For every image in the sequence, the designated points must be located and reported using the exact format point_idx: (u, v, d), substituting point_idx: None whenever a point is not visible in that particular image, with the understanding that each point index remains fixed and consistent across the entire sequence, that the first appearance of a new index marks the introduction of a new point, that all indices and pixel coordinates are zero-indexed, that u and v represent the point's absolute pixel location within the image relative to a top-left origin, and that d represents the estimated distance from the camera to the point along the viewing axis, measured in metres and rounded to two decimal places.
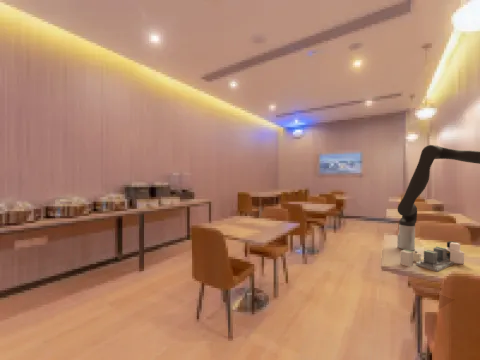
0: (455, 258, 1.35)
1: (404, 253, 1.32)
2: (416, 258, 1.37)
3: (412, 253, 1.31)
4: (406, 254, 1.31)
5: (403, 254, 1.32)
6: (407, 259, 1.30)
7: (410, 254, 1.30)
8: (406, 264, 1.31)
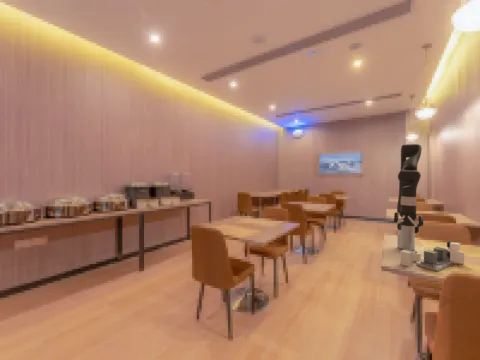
0: (455, 258, 1.35)
1: (404, 253, 1.32)
2: (415, 258, 1.37)
3: (412, 253, 1.31)
4: (406, 254, 1.31)
5: (403, 254, 1.32)
6: (407, 259, 1.30)
7: (410, 254, 1.30)
8: (406, 264, 1.31)
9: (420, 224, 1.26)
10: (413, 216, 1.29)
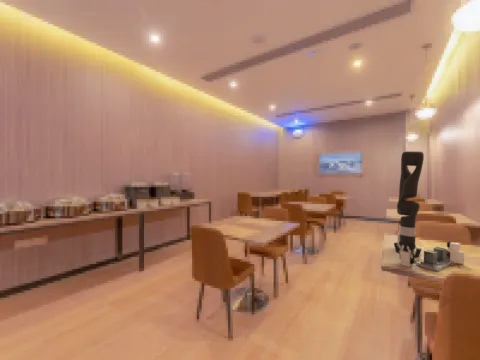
0: (455, 258, 1.35)
1: (404, 253, 1.32)
2: (416, 258, 1.37)
3: None
4: (406, 254, 1.31)
5: (403, 254, 1.32)
6: (407, 259, 1.30)
7: None
8: (406, 264, 1.31)
9: (415, 256, 1.28)
10: (412, 248, 1.29)
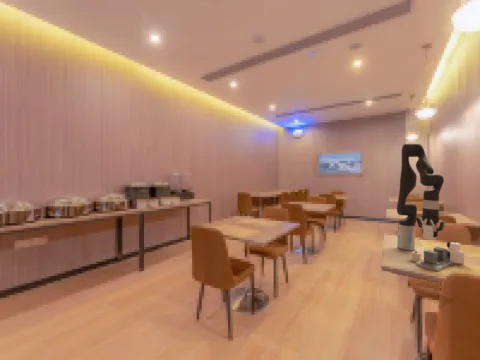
0: (455, 258, 1.35)
1: (427, 227, 1.32)
2: (416, 258, 1.37)
3: None
4: (429, 227, 1.31)
5: (426, 228, 1.32)
6: (430, 232, 1.30)
7: (433, 227, 1.30)
8: (429, 237, 1.31)
9: (439, 229, 1.28)
10: (436, 221, 1.29)
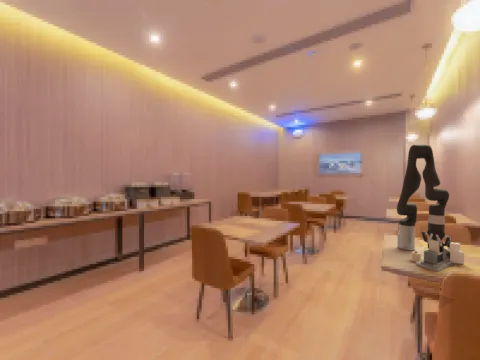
0: (455, 258, 1.35)
1: (433, 241, 1.32)
2: (416, 258, 1.37)
3: None
4: (435, 242, 1.31)
5: (432, 242, 1.32)
6: (436, 247, 1.30)
7: (439, 242, 1.30)
8: None
9: (445, 244, 1.28)
10: (442, 236, 1.29)
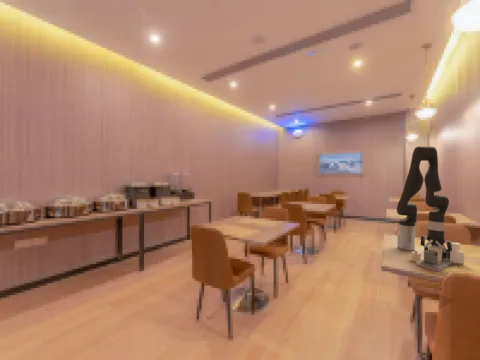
0: (455, 258, 1.35)
1: (433, 248, 1.32)
2: (415, 258, 1.37)
3: None
4: (435, 249, 1.31)
5: (431, 249, 1.32)
6: None
7: (439, 249, 1.30)
8: None
9: (449, 250, 1.26)
10: (441, 241, 1.29)
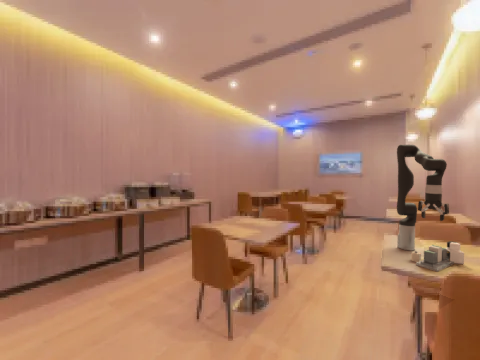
0: (455, 258, 1.35)
1: (433, 248, 1.32)
2: (415, 258, 1.37)
3: (441, 248, 1.32)
4: (435, 249, 1.31)
5: (431, 249, 1.32)
6: None
7: (439, 249, 1.30)
8: None
9: (446, 212, 1.27)
10: (438, 204, 1.30)
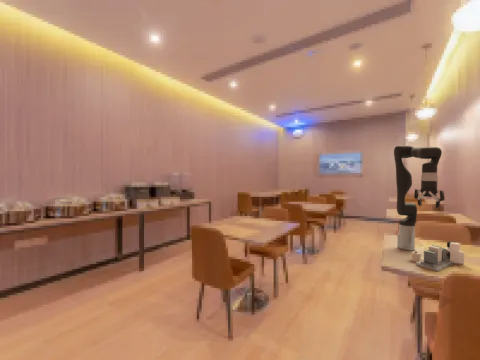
0: (455, 258, 1.35)
1: (433, 248, 1.32)
2: (415, 258, 1.37)
3: (441, 248, 1.32)
4: (435, 249, 1.31)
5: (431, 249, 1.32)
6: None
7: (439, 249, 1.30)
8: None
9: (441, 198, 1.29)
10: (434, 191, 1.32)
